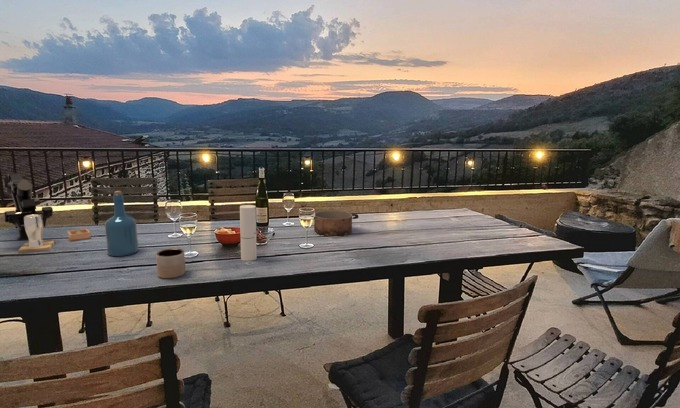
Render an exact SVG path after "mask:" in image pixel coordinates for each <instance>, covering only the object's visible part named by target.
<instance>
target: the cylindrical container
mask: <svg viewBox="0 0 680 408" xmlns="http://www.w3.org/2000/svg"><path fill="white" fill-rule="evenodd" d="M256 208H257V206H256V205H254V204H244V205H242V204H241V205H240V206H239V225H240V231H239V232H240V259H241V261H245V262H251V261H256V260H257V256H258V253H257V211H256Z"/></svg>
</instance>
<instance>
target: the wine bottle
mask: <svg viewBox="0 0 680 408" xmlns="http://www.w3.org/2000/svg"><path fill="white" fill-rule="evenodd" d="M112 198H113V200H112V202H113V206H114V207H113V209H114V210H113V211H114V215H113V216H111V217H109V218H108V219H107V220H105V224H104V229H105V239H106V240H105V241H106V250H107V254H108V255H109V256H112V257H125V256H131V255H134V254H135V253H136V254H137V252H138V251H139V241H138V238H139V237H138V229H137V228H138V227H137V222H136V220H135V217H134V216H132V215H130V214H128V213H126V210H125V202H124V201H125V200H124V195H123V193H122V191H121V190H116V191H114V194H113V197H112Z"/></svg>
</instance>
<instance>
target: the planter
mask: <svg viewBox="0 0 680 408" xmlns="http://www.w3.org/2000/svg"><path fill="white" fill-rule="evenodd" d="M155 257H156V258H155V259H156V271H157V272H156V273H157V276H158V277H159V278H161V279H167V280H168V279H175V278H176V279H177V278H179V277H181V276H183V275H184V274H186V268H187V267H186V258H185V250H184V249H181V248H166V249H162V250H159V251H157V252H156V253H155Z"/></svg>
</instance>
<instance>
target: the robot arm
mask: <svg viewBox="0 0 680 408" xmlns="http://www.w3.org/2000/svg"><path fill="white" fill-rule="evenodd" d="M2 179H3V181H2V183H3V184H2V186H3V188H4V189H5V190H6V193H8V194H10V195H11V198H12V201H13V204H14V207H15V210H7V211H4V212H3V220H4V222H5V223H9V224H12V225H13V227H14V229H18V235H19V236H18V237H17V240H26V239H27V240H29V239H28V236H27V233H26V231H25V227H24V216H26V215H32V214H40V215H41V219H42V225H43V228H46V224H47V220H48V219H49V218H50V217H52V216H53V212H54V209H53V207H52V206H42V208H41V210H37V206H39V205H40V204H41V201H40V197H34V198H32V193H33V189H34V185H33V184H32V183H31V182H30V181H29V180H27V179H24V177H23V176H22V175H21V173H20V172H9V173H7V175H6V176H5V177H3V178H2Z"/></svg>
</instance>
